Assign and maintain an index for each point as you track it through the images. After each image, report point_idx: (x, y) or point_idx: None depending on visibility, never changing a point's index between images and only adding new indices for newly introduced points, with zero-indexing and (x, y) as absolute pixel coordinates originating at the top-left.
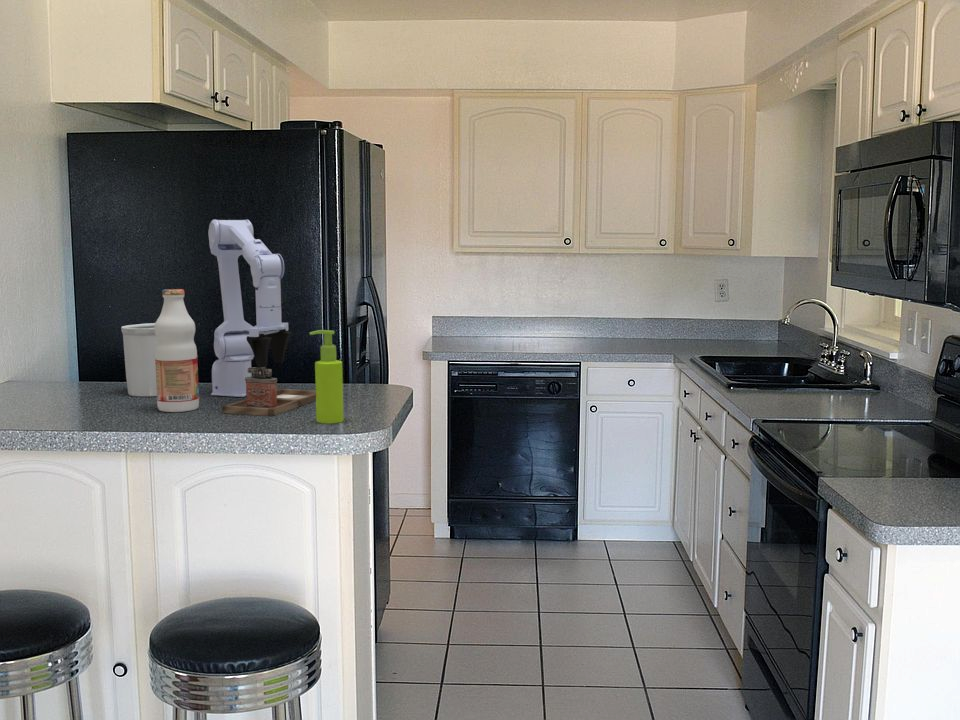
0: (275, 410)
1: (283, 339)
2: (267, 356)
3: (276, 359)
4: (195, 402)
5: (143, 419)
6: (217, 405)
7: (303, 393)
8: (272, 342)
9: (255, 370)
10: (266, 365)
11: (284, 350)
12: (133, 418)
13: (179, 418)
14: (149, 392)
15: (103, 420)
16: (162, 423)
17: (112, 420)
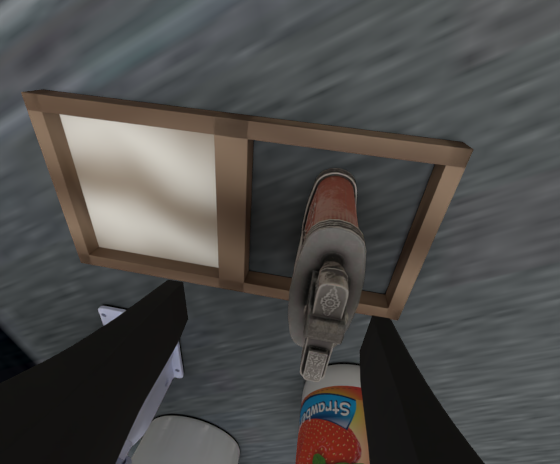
0: (439, 142)
1: (52, 438)
2: (396, 371)
3: (179, 321)
4: (359, 380)
5: (481, 416)
6: (287, 339)
7: (73, 179)
8: (111, 455)
9: (332, 345)
10: (379, 320)
11: (119, 331)
12: (466, 429)
13: (476, 367)
14: (234, 450)
15: (485, 458)
16: (548, 382)
17: (487, 449)
